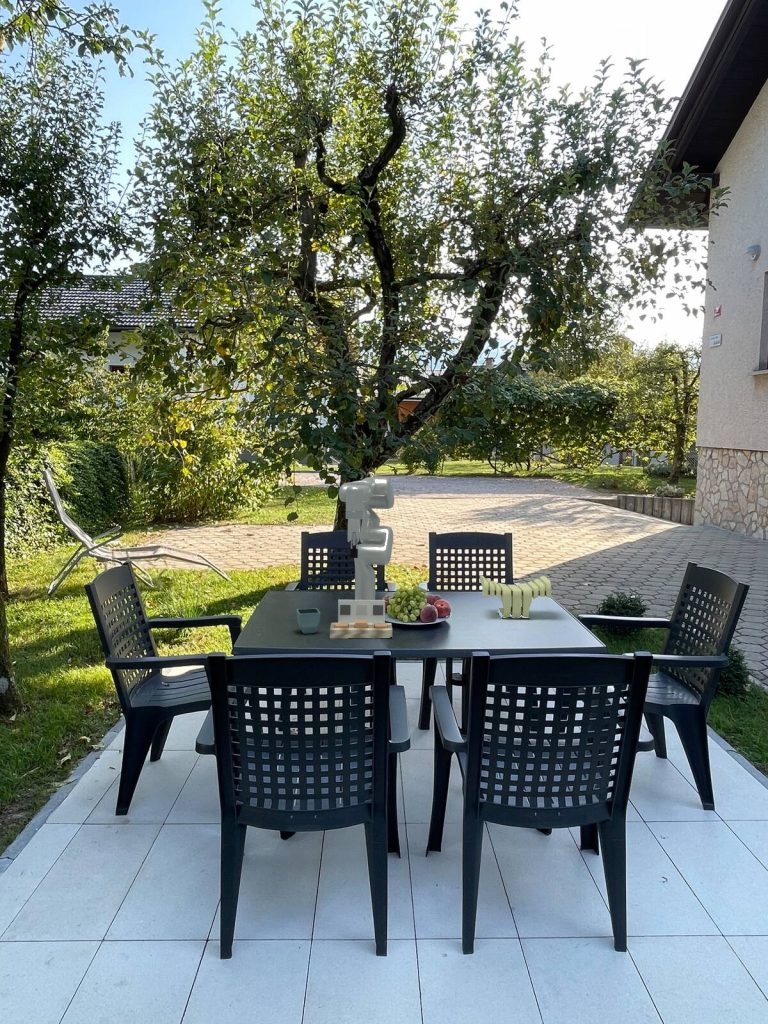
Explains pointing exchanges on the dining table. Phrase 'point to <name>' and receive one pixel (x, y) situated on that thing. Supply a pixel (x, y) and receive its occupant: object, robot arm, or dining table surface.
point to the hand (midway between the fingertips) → (354, 557)
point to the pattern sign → (361, 611)
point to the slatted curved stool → (516, 594)
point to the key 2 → (380, 625)
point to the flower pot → (308, 620)
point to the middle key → (360, 623)
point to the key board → (361, 631)
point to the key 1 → (341, 625)
